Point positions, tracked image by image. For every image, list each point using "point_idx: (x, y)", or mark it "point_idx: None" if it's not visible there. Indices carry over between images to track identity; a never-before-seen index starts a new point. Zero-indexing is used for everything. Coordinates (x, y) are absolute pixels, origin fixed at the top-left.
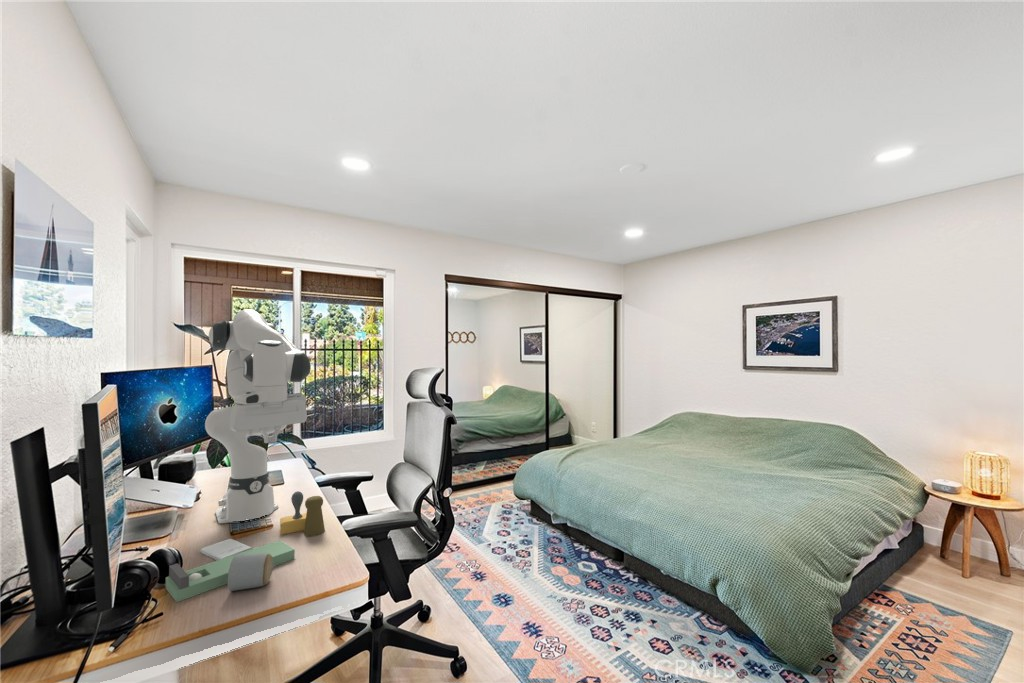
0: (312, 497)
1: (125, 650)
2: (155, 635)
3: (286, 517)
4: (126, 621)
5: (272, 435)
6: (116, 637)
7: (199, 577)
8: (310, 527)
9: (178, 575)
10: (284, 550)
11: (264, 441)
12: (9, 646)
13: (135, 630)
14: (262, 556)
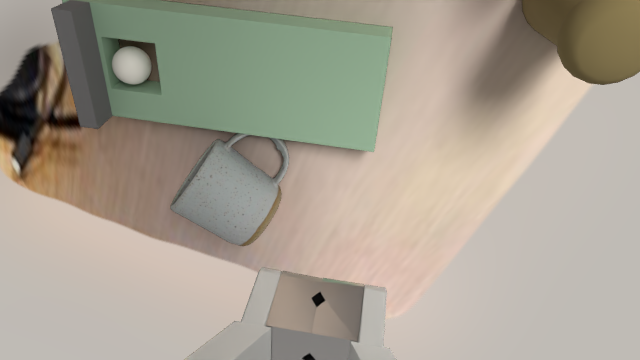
0: (608, 47)
1: (36, 189)
2: (73, 187)
3: None
4: (20, 91)
5: (350, 346)
6: (15, 137)
7: (138, 82)
8: (536, 27)
9: (76, 103)
10: (353, 132)
11: (258, 283)
12: None
13: (41, 142)
14: (236, 239)
